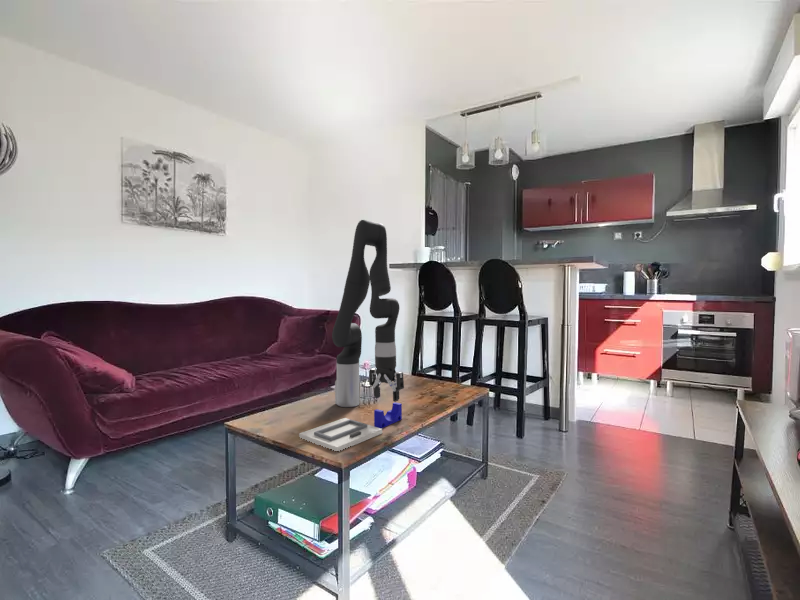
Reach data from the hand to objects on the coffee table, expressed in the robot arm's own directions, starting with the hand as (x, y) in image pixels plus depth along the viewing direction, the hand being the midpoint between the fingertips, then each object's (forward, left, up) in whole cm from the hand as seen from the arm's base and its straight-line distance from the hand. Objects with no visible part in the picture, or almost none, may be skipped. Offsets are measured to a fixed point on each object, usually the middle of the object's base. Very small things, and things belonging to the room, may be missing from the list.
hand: (386, 399), depth 151 cm
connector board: (-3, -20, -8) cm, 21 cm away
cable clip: (0, 0, -9) cm, 9 cm away
